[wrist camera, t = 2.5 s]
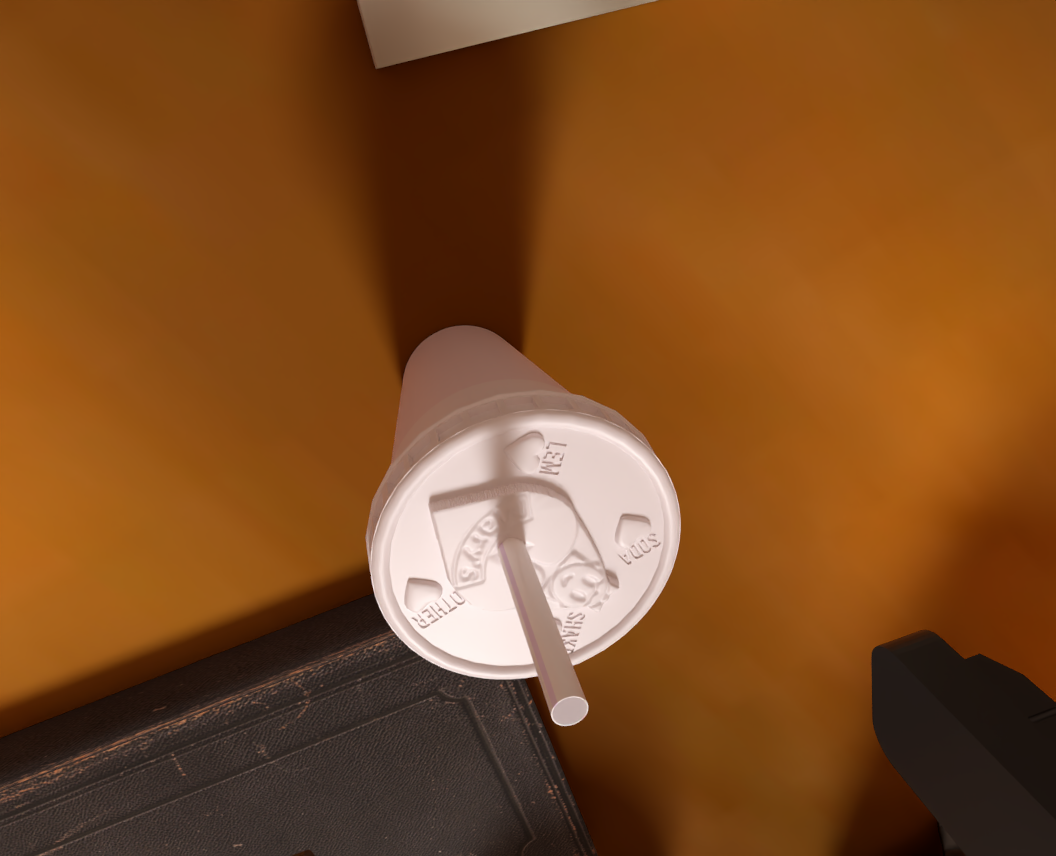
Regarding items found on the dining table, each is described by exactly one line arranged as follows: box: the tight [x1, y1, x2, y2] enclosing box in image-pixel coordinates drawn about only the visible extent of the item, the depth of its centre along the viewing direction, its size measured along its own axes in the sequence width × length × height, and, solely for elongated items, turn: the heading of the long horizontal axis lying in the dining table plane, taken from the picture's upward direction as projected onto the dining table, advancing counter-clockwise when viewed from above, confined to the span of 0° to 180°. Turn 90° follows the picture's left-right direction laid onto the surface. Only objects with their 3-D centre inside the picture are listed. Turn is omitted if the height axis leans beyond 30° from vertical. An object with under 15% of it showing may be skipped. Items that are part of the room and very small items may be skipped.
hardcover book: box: [0, 593, 598, 856], centre depth 29 cm, size 16×23×2 cm
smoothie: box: [366, 325, 680, 726], centre depth 17 cm, size 6×6×14 cm
